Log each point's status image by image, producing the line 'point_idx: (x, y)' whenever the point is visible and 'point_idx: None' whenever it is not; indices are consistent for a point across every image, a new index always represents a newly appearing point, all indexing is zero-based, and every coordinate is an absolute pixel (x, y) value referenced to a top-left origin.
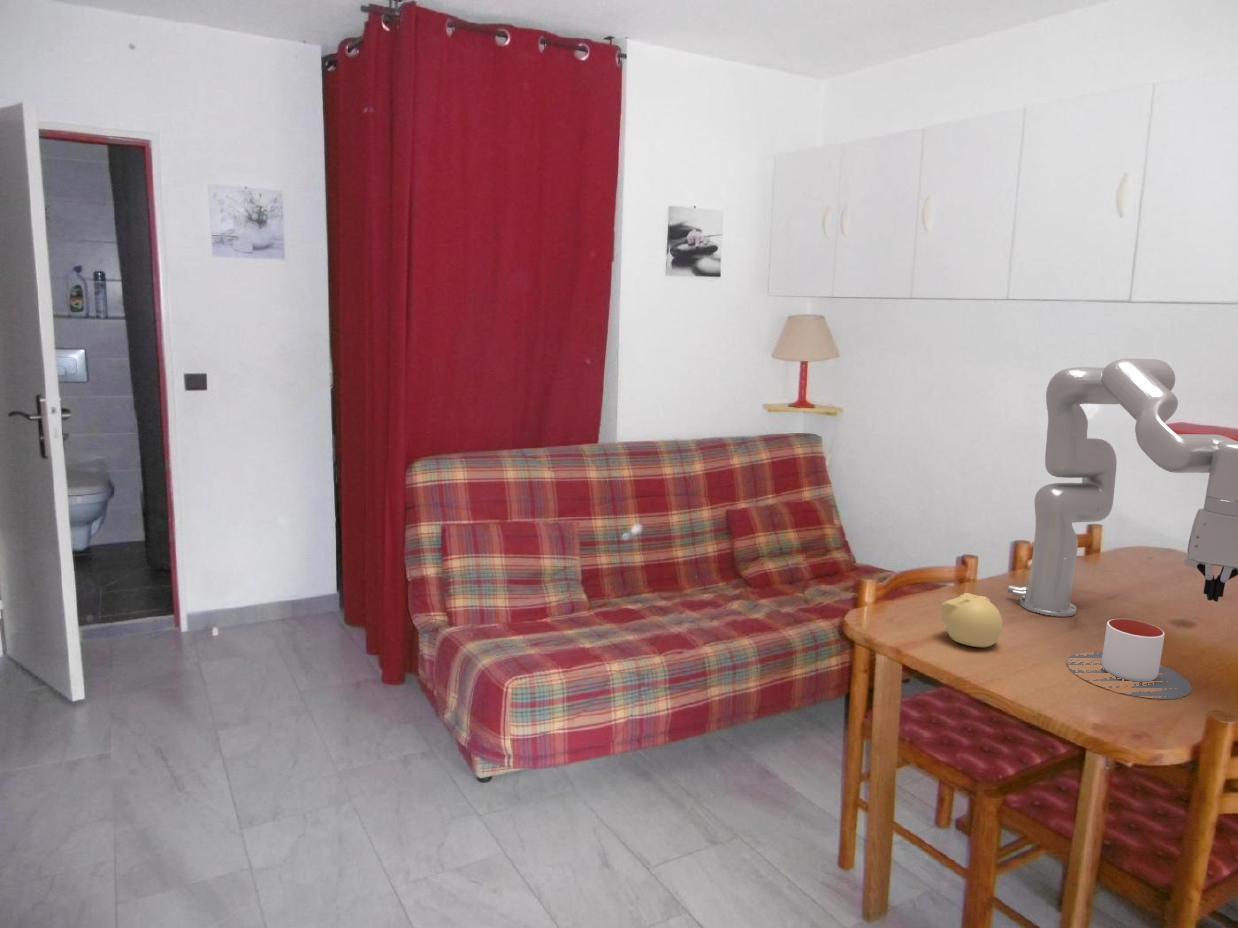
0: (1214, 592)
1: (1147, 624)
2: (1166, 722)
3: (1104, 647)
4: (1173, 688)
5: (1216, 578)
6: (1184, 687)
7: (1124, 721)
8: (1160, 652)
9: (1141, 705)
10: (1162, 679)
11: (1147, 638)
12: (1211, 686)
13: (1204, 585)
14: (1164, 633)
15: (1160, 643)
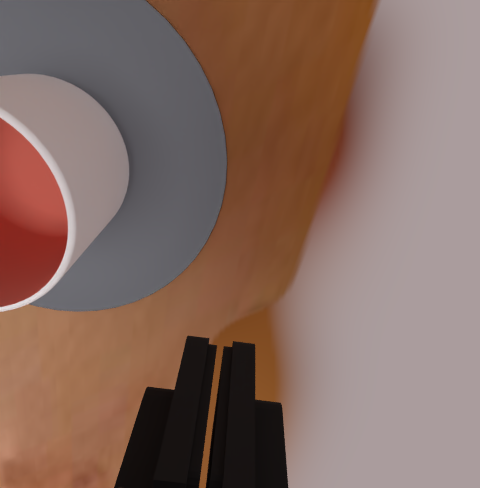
0: (207, 474)
1: (2, 114)
2: (138, 410)
3: None
4: (173, 217)
5: (223, 481)
6: (205, 194)
7: (58, 436)
8: (95, 233)
9: (90, 351)
10: (150, 157)
11: (14, 308)
12: (289, 138)
13: (134, 429)
14: (74, 229)
15: (75, 259)
